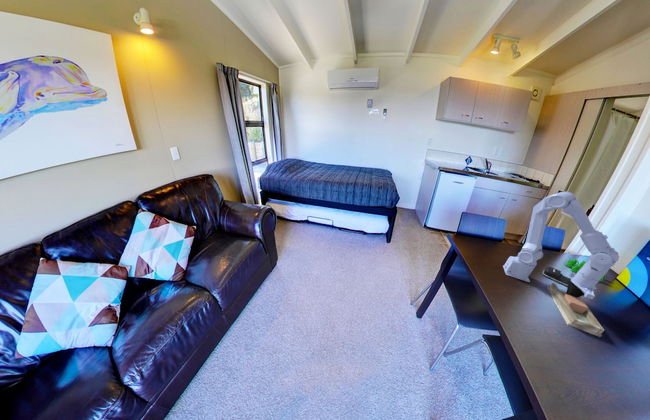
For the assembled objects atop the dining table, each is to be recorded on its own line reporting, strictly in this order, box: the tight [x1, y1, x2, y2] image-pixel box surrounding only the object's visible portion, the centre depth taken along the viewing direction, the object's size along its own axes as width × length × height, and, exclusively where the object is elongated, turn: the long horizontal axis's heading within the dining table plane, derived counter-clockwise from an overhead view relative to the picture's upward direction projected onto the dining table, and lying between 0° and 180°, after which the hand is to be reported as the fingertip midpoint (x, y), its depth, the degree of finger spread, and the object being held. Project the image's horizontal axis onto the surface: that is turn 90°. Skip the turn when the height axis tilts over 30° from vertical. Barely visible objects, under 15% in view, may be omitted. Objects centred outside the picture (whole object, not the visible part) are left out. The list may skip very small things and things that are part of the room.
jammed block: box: [564, 294, 589, 314], centre depth 85 cm, size 5×5×4 cm
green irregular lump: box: [564, 258, 608, 282], centre depth 108 cm, size 15×15×7 cm
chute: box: [546, 282, 605, 338], centre depth 85 cm, size 9×22×4 cm, turn 150°
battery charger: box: [542, 266, 571, 288], centre depth 102 cm, size 7×4×11 cm
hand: (568, 298), depth 89 cm, fingers closed
